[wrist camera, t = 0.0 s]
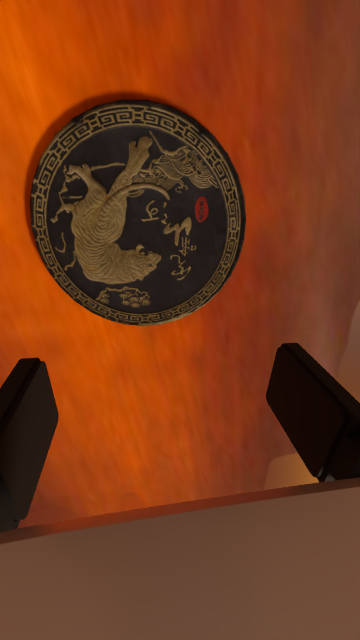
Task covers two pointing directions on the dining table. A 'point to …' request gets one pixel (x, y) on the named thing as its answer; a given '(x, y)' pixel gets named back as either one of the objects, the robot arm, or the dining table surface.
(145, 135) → the decorative plate
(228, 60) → the dining table surface
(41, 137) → the dining table surface
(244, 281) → the dining table surface
